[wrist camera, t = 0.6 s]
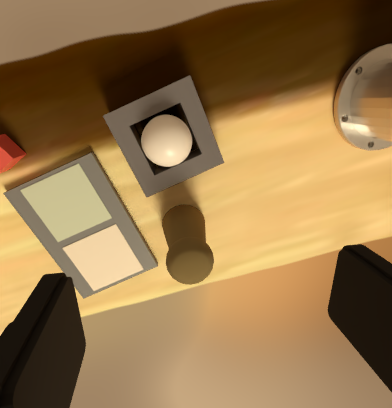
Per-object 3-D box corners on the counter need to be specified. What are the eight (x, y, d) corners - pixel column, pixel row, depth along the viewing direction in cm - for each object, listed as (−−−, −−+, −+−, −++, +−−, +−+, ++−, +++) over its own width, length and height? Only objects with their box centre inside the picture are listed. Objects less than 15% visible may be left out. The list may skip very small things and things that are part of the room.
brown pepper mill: (157, 238, 38) (155, 288, 28) (168, 200, 36) (170, 238, 26) (197, 247, 39) (209, 297, 29) (210, 210, 38) (228, 250, 27)
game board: (93, 151, 33) (91, 152, 32) (157, 263, 40) (157, 266, 39) (6, 191, 33) (2, 193, 33) (85, 294, 40) (83, 299, 39)
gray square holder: (186, 78, 31) (189, 75, 28) (217, 156, 35) (224, 162, 31) (109, 114, 32) (102, 115, 28) (148, 187, 35) (146, 197, 32)
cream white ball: (177, 106, 30) (180, 106, 25) (196, 149, 32) (202, 158, 27) (135, 126, 31) (129, 130, 26) (156, 168, 33) (154, 179, 28)
